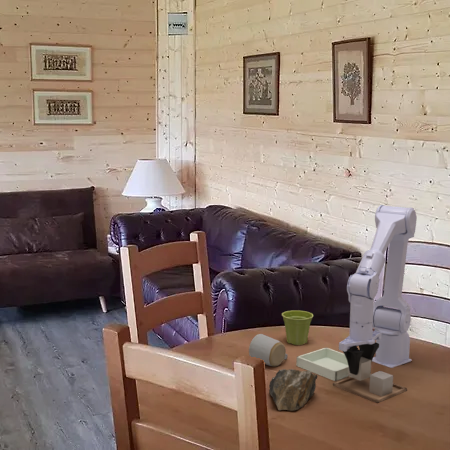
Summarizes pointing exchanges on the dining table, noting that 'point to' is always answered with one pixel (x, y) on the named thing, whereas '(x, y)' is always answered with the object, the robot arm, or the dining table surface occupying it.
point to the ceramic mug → (267, 350)
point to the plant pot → (297, 326)
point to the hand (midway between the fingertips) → (359, 371)
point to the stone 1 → (362, 370)
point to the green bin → (325, 363)
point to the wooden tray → (366, 389)
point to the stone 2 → (381, 383)
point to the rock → (292, 388)
